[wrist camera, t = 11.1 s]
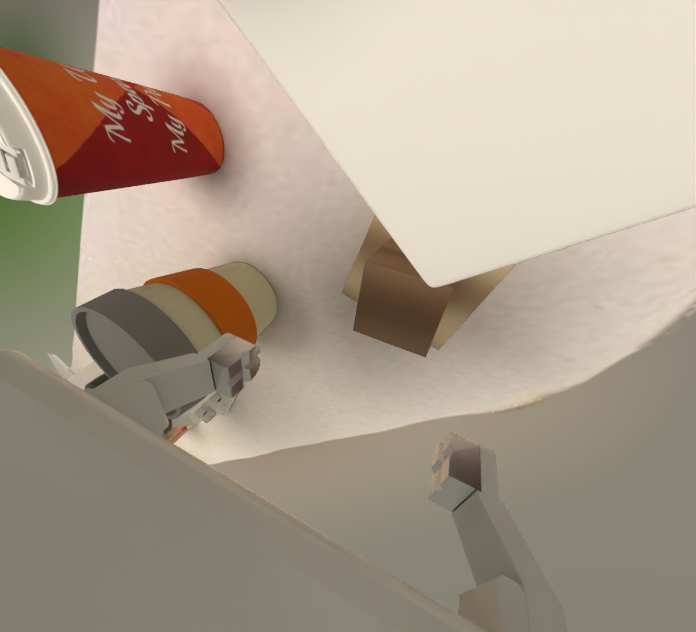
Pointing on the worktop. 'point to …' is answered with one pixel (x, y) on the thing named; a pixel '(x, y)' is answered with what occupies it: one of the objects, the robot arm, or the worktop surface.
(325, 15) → the milk
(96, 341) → the reusable coffee cup
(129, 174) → the coffee cup
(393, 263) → the walnut cube
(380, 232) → the oak plinth
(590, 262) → the worktop surface
